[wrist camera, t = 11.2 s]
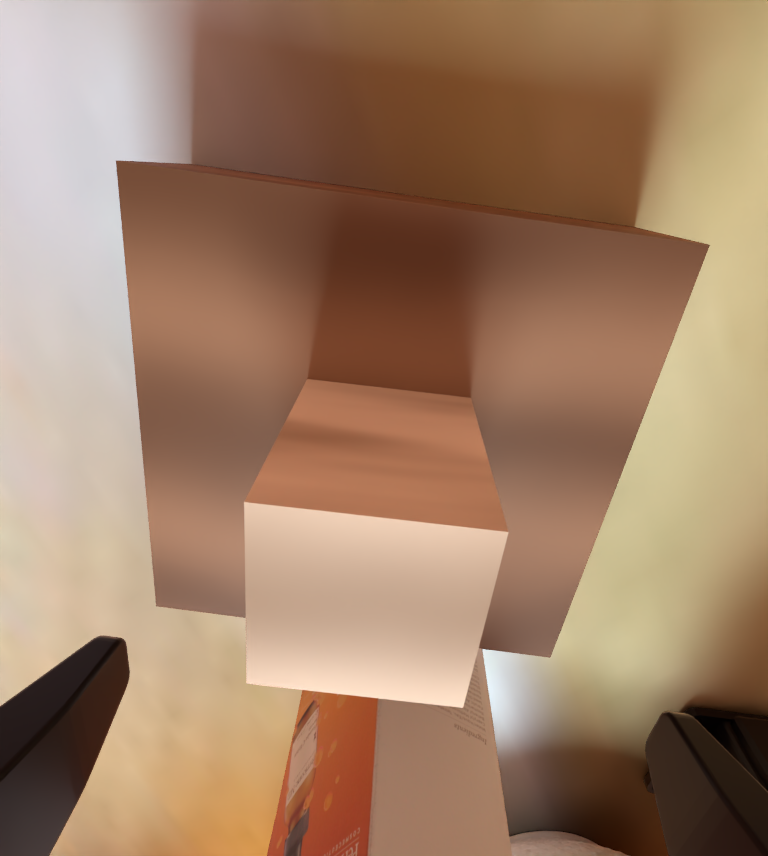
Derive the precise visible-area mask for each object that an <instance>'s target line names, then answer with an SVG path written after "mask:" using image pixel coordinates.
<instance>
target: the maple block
mask: <svg viewBox="0 0 768 856" xmlns="http://www.w3.org/2000/svg"><path fill="white" fill-rule="evenodd" d="M244 529H245V600H246V671H247V684H254V685H263V686H272V687H281V688H290V689H299V690H308V691H317V692H326V693H335V694H344V695H353V696H362V697H371V698H380V699H388V700H397V701H406V702H415V703H424V704H433V705H442V706H451V707H460V708H463V706H464V702H465V699H466V695H467V691H468V687H469V683H470V679H471V675H472V672H473V668H474V664H475V660H476V656H477V652H478V648H479V645H480V641H481V637H482V633H483V629H484V625H485V621H486V618H487V614H488V610H489V606H490V602H491V598H492V594H493V591H494V587H495V583H496V579H497V575H498V571H499V567H500V564H501V560H502V556H503V552H504V548H505V544H506V540H507V537H508V533H509V532H508V528H507V525H506V521H505V517H504V514H503V510H502V507H501V503H500V500H499V496H498V493H497V489H496V485H495V482H494V478H493V475H492V471H491V468H490V464H489V461H488V457H487V453H486V450H485V446H484V443H483V439H482V436H481V432H480V429H479V425H478V421H477V418H476V414H475V411H474V407H473V404H472V400H471V398H468V397H459V396H451V395H442V394H433V393H425V392H416V391H407V390H399V389H390V388H381V387H373V386H364V385H355V384H347V383H338V382H329V381H321V380H312V379H307V380H306V382H305V384H304V386H303V388H302V390H301V392H300V394H299V396H298V398H297V400H296V402H295V404H294V406H293V408H292V410H291V412H290V414H289V416H288V417H287V419H286V421H285V423H284V425H283V427H282V429H281V431H280V433H279V435H278V437H277V439H276V441H275V443H274V445H273V447H272V449H271V451H270V453H269V455H268V456H267V458H266V460H265V462H264V464H263V466H262V468H261V470H260V472H259V474H258V476H257V478H256V480H255V482H254V484H253V486H252V488H251V490H250V492H249V493H248V495H247V497H246V499H245V501H244Z"/></svg>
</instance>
